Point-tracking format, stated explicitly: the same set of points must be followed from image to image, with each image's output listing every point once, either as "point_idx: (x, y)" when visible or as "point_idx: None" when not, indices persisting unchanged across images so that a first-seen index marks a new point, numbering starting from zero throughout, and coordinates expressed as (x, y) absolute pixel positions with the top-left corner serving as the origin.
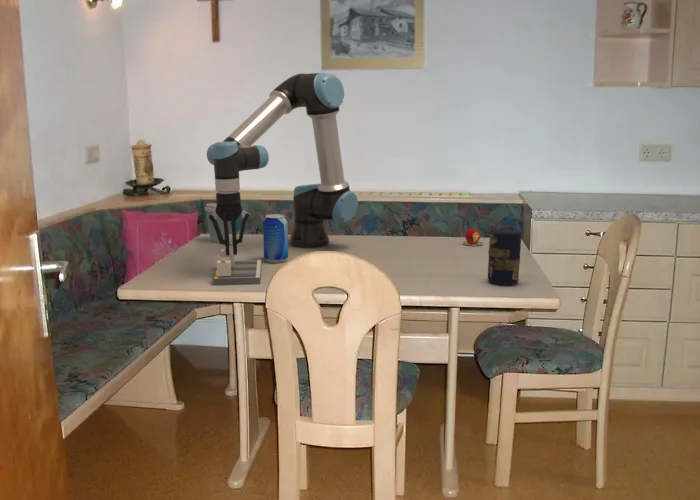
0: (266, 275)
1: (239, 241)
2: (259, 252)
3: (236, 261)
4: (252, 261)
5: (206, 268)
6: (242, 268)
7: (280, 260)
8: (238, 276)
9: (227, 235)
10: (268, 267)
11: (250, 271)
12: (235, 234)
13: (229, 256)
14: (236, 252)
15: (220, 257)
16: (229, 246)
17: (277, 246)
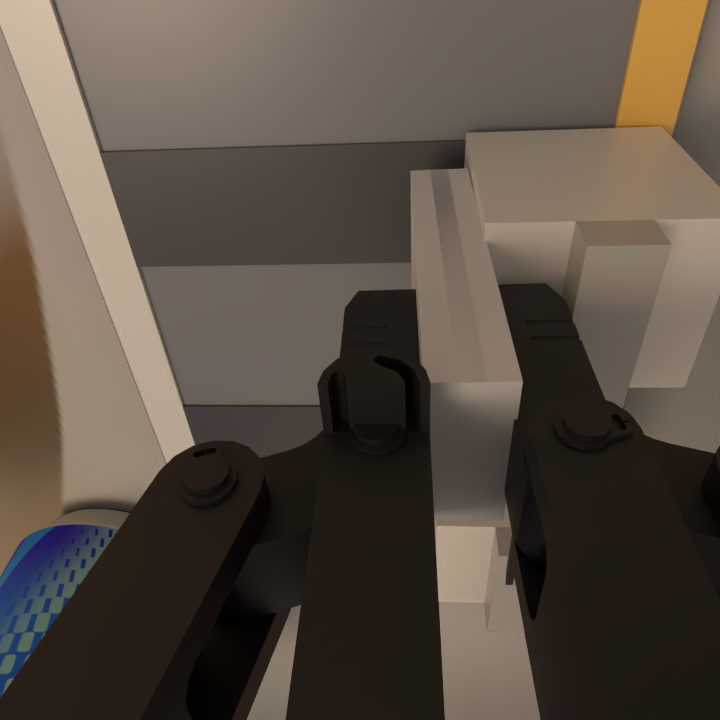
0: (20, 134)
1: (223, 471)
2: (289, 688)
3: None
4: None
5: (692, 435)
6: (303, 215)
7: (53, 524)
8: None
9: (638, 686)
10: (119, 417)
11: (155, 48)
12: (307, 712)
13: (491, 253)
14: (354, 316)
15: (674, 214)
16: (510, 374)
17: (7, 639)
